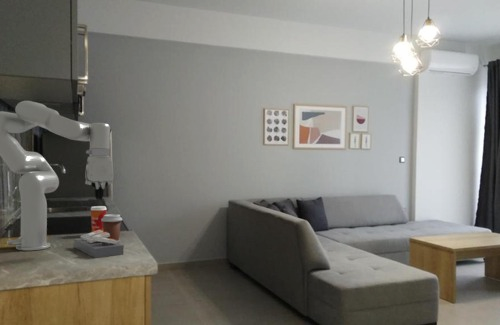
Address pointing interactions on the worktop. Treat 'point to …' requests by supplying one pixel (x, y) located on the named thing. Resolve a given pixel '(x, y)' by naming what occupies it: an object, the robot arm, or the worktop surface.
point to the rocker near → (104, 240)
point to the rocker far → (91, 234)
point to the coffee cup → (112, 225)
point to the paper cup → (97, 217)
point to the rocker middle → (103, 235)
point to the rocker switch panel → (98, 248)
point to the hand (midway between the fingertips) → (98, 198)
